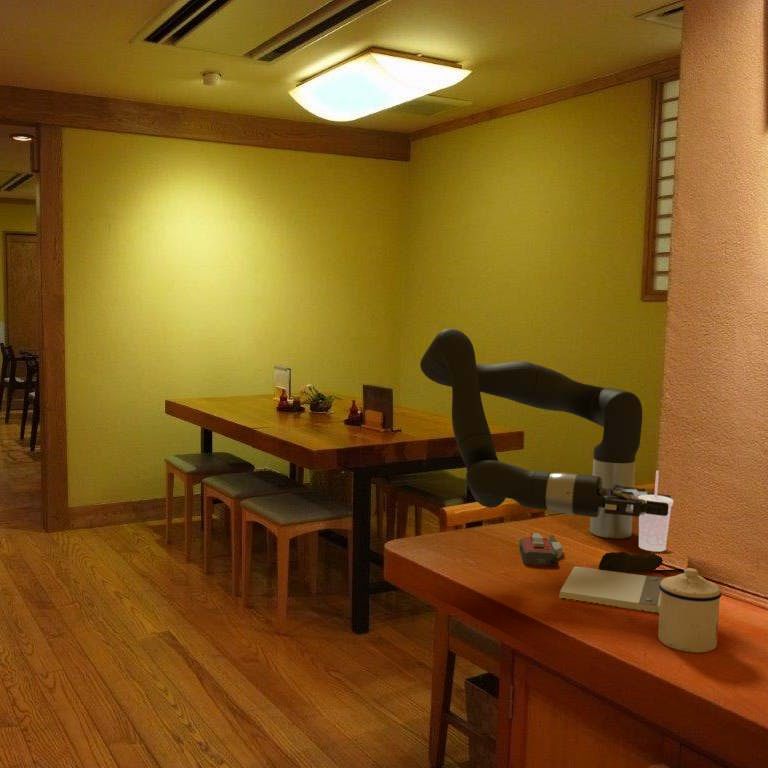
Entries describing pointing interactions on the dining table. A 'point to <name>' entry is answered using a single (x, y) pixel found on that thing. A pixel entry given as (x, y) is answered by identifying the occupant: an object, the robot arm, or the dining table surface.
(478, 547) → the dining table surface
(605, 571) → the floor panel
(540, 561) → the walkie-talkie
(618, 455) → the robot arm
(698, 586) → the teacup with lid
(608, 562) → the hand tool
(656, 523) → the beverage cup
